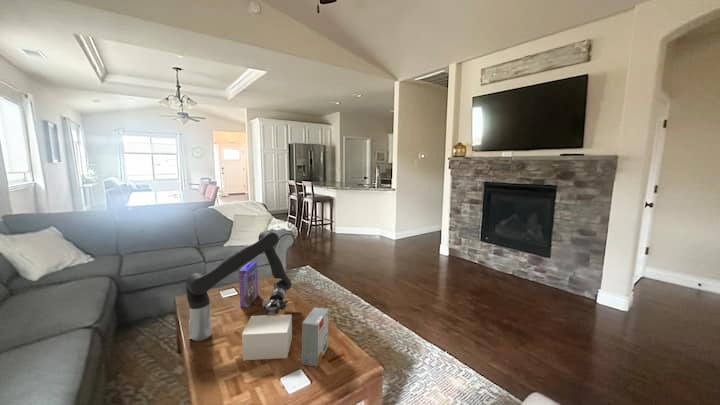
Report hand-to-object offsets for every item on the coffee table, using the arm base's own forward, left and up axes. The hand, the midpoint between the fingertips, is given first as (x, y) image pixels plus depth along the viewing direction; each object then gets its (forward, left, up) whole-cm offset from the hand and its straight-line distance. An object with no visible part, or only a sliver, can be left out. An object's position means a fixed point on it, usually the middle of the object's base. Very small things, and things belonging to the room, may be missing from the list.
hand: (271, 312), depth 146 cm
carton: (0, -8, -14) cm, 16 cm away
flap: (0, -6, -2) cm, 6 cm away
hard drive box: (+23, -15, -15) cm, 31 cm away
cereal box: (-23, +43, -15) cm, 51 cm away
